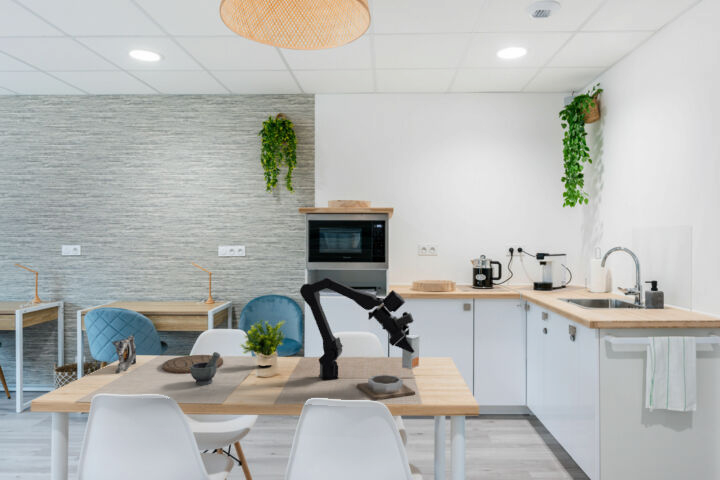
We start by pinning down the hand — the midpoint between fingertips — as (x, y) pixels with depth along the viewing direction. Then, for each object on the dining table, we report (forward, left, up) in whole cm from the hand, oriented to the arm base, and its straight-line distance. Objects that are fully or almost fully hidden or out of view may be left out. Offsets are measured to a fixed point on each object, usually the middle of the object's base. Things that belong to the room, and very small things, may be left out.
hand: (414, 350), depth 175 cm
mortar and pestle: (-74, +31, -13) cm, 81 cm away
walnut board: (-14, -3, -13) cm, 19 cm away
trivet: (-77, +60, -13) cm, 98 cm away
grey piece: (-104, +65, -13) cm, 124 cm away
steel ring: (-14, -3, -13) cm, 19 cm away
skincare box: (-1, +1, -7) cm, 7 cm away
